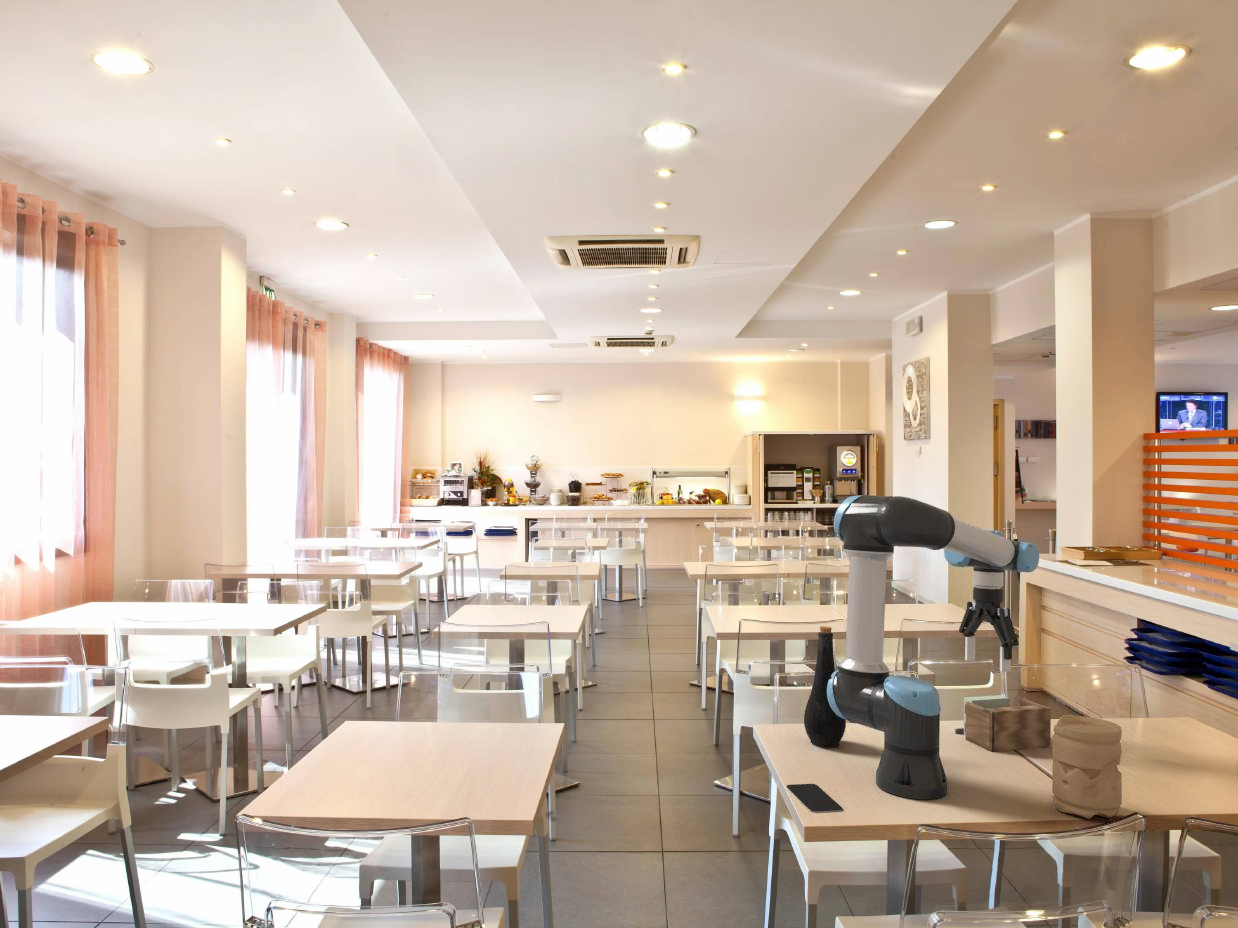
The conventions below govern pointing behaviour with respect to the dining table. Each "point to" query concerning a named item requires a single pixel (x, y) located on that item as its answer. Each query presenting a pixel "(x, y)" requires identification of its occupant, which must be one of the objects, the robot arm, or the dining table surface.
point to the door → (987, 702)
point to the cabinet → (1008, 726)
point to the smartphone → (814, 798)
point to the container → (1086, 766)
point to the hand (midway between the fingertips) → (987, 665)
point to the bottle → (823, 698)
